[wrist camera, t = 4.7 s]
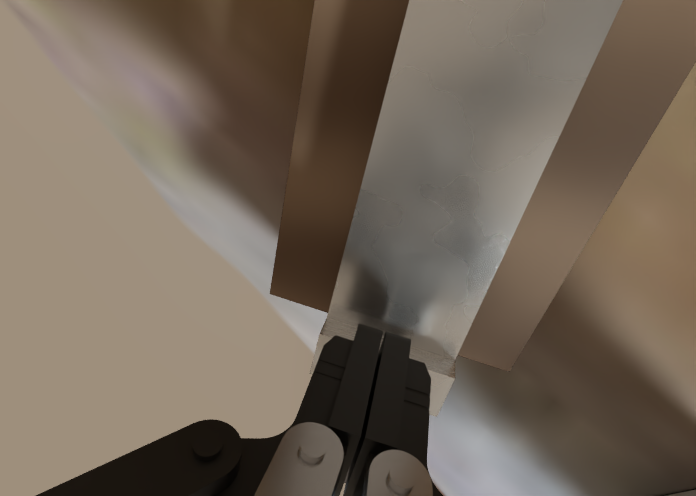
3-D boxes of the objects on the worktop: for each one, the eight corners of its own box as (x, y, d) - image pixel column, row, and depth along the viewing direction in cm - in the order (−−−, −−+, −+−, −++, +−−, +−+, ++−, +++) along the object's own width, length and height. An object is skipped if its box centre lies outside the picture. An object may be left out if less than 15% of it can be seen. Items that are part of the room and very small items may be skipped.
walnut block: (411, -329, 11) (366, -602, 6) (793, -254, 10) (1108, -492, 5) (303, 242, 20) (249, 324, 15) (501, 304, 19) (513, 413, 14)
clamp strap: (530, -438, 7) (552, -577, 5) (784, -394, 7) (891, -531, 5) (325, 335, 15) (309, 373, 13) (438, 373, 15) (436, 416, 13)
